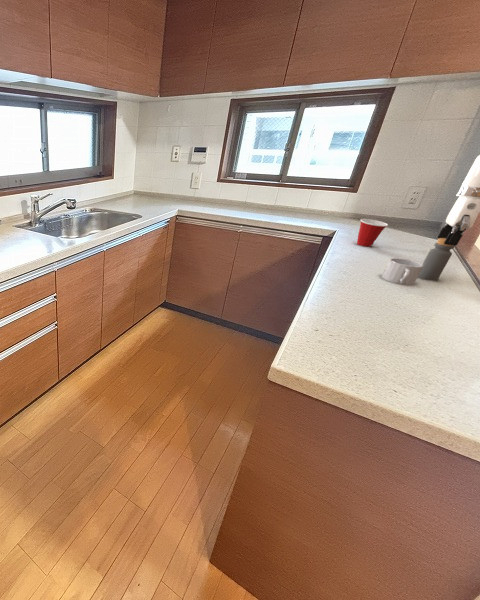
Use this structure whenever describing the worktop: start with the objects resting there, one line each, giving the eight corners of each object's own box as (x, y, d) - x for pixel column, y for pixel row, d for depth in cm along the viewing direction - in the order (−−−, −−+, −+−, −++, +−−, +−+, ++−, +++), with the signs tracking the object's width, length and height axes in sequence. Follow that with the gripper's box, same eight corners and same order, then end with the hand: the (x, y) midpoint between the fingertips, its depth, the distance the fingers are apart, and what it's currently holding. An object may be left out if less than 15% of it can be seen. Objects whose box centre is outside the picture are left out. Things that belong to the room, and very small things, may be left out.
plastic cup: (370, 249, 156) (381, 224, 151) (346, 243, 165) (355, 219, 159) (382, 247, 160) (394, 222, 155) (358, 241, 169) (368, 218, 163)
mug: (380, 273, 127) (388, 256, 124) (411, 279, 122) (420, 261, 119) (384, 283, 118) (392, 265, 115) (418, 290, 113) (428, 271, 110)
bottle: (437, 282, 120) (459, 243, 113) (416, 277, 124) (436, 239, 117) (436, 277, 124) (458, 239, 117) (416, 273, 127) (435, 236, 121)
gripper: (499, 197, 101) (468, 249, 109) (481, 191, 114) (454, 238, 122) (466, 194, 105) (437, 245, 113) (451, 189, 118) (427, 234, 126)
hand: (446, 241), depth 117 cm, fingers open, 9 cm apart
